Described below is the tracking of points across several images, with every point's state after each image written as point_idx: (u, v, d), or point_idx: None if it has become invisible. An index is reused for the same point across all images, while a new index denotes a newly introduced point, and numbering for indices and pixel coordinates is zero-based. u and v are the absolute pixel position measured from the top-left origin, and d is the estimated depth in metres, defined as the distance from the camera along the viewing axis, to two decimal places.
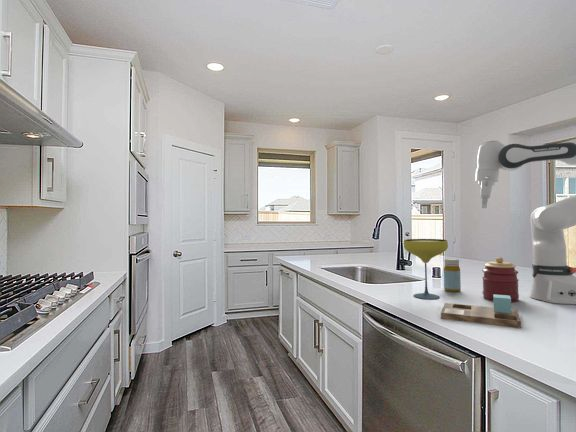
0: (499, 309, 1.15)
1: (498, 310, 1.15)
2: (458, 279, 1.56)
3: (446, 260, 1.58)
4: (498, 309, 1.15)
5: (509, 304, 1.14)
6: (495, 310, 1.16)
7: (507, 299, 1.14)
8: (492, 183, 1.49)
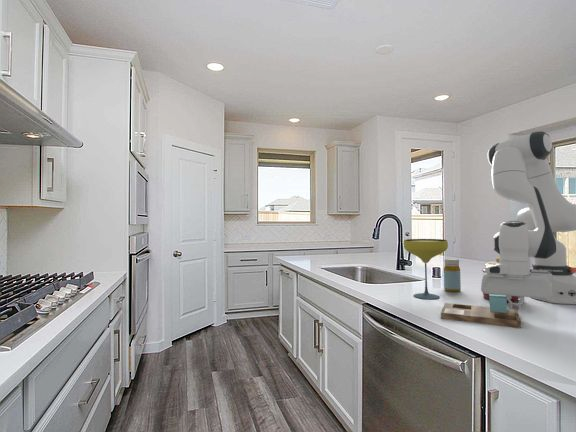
0: (495, 308, 1.16)
1: (494, 310, 1.16)
2: (458, 279, 1.56)
3: (446, 260, 1.58)
4: (494, 309, 1.16)
5: (505, 304, 1.14)
6: (491, 310, 1.16)
7: (503, 299, 1.14)
8: None
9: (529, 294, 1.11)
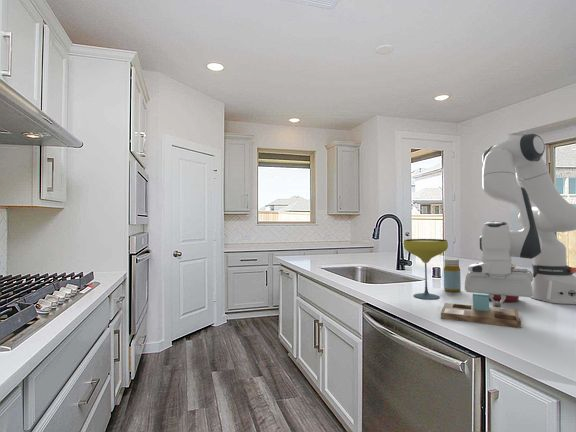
0: (477, 306, 1.18)
1: (477, 308, 1.18)
2: (458, 279, 1.56)
3: (446, 260, 1.58)
4: (477, 307, 1.18)
5: (487, 302, 1.17)
6: (474, 308, 1.19)
7: (485, 297, 1.17)
8: None
9: (510, 293, 1.14)
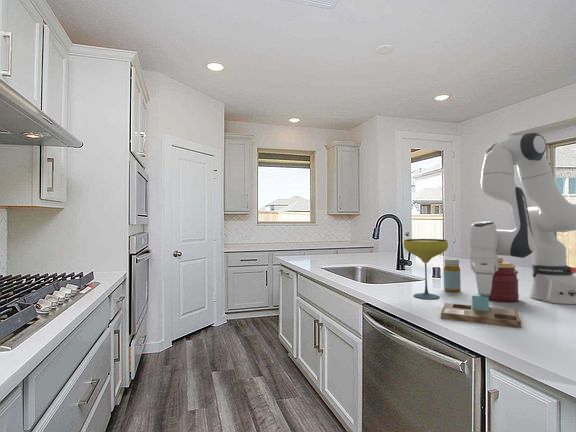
0: (477, 307, 1.18)
1: (476, 308, 1.18)
2: (458, 279, 1.56)
3: (446, 260, 1.58)
4: (476, 308, 1.18)
5: (487, 302, 1.17)
6: (473, 308, 1.19)
7: (485, 297, 1.17)
8: None
9: None
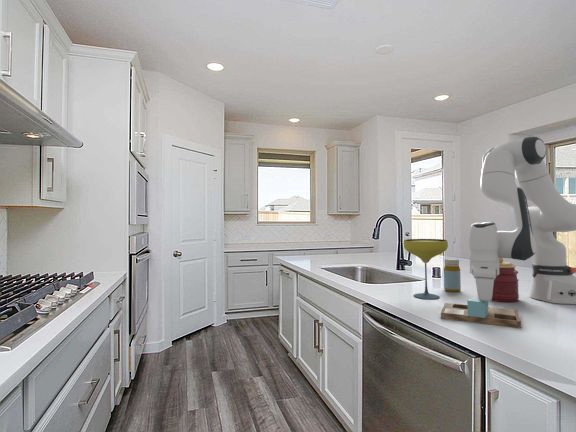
0: (472, 312, 1.11)
1: (472, 314, 1.11)
2: (458, 279, 1.56)
3: (446, 260, 1.58)
4: (472, 313, 1.11)
5: (482, 308, 1.09)
6: (469, 314, 1.12)
7: (480, 303, 1.10)
8: None
9: None
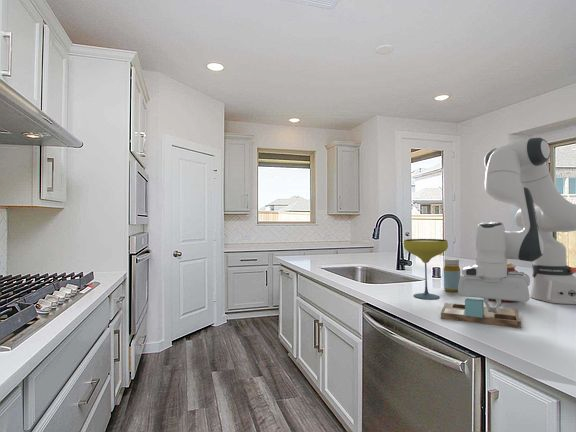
0: (470, 312, 1.11)
1: (469, 314, 1.11)
2: (458, 279, 1.56)
3: (446, 260, 1.58)
4: (469, 313, 1.11)
5: (480, 308, 1.09)
6: (466, 314, 1.12)
7: (478, 303, 1.10)
8: None
9: (506, 297, 1.08)
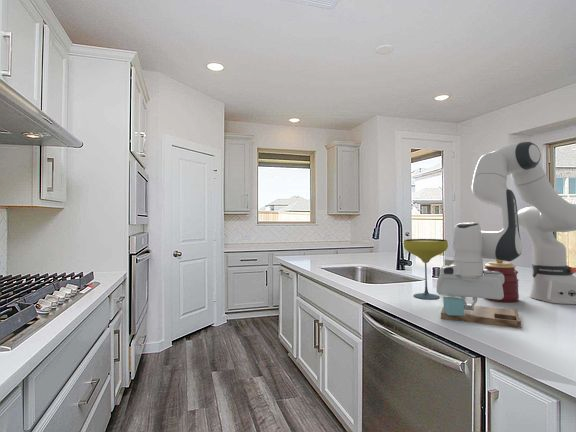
0: (452, 312, 1.13)
1: (452, 313, 1.13)
2: None
3: (446, 260, 1.58)
4: (452, 313, 1.13)
5: (462, 306, 1.12)
6: (449, 313, 1.13)
7: (460, 301, 1.12)
8: None
9: (481, 295, 1.11)
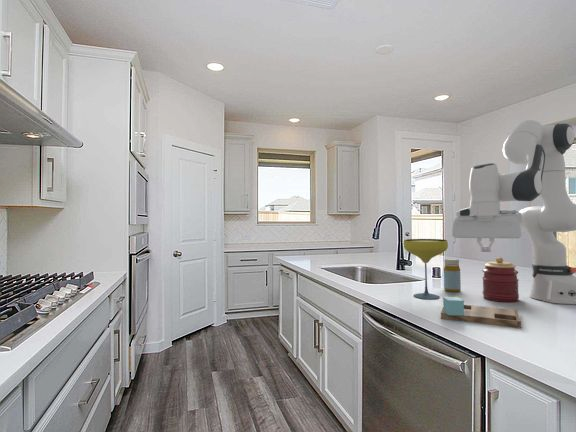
0: (452, 311, 1.13)
1: (452, 313, 1.13)
2: (458, 279, 1.56)
3: (446, 260, 1.58)
4: (452, 313, 1.13)
5: (462, 306, 1.12)
6: (449, 313, 1.13)
7: (460, 301, 1.12)
8: None
9: (498, 235, 1.11)
